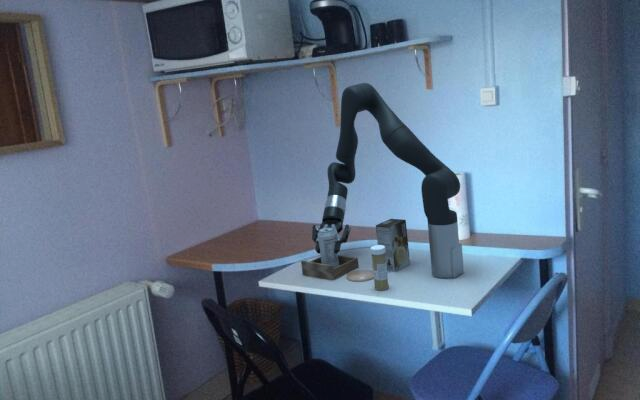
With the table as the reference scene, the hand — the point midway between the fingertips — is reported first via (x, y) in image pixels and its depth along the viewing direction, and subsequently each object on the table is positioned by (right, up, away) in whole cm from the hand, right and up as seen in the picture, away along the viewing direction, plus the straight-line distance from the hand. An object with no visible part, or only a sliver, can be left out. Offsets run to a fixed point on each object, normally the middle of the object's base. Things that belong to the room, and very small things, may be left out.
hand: (327, 252), depth 191 cm
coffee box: (+23, -5, -1) cm, 24 cm away
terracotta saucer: (+11, -7, -6) cm, 15 cm away
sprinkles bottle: (+17, -10, -19) cm, 27 cm away
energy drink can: (+2, -7, +3) cm, 8 cm away
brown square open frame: (+1, -7, +3) cm, 8 cm away
